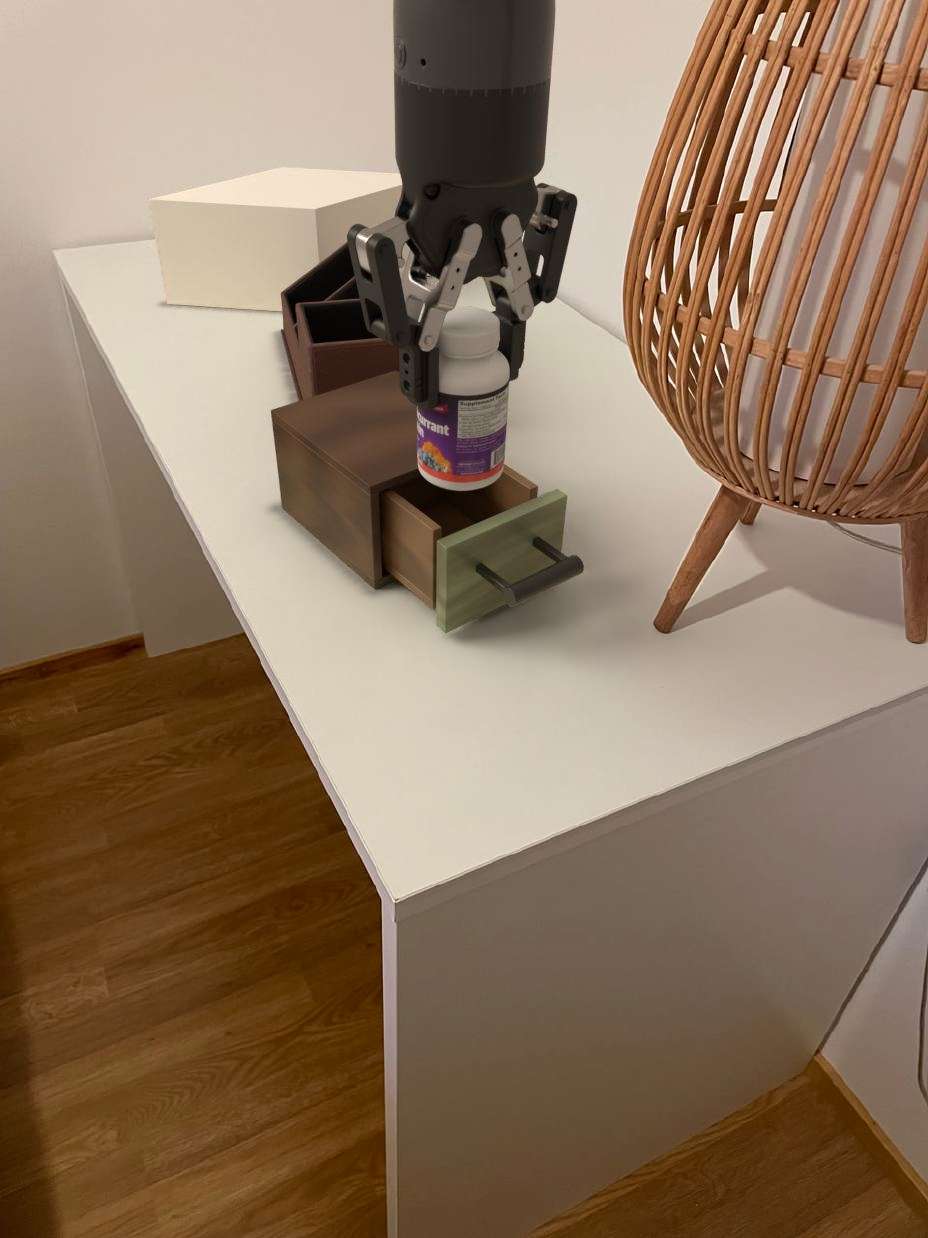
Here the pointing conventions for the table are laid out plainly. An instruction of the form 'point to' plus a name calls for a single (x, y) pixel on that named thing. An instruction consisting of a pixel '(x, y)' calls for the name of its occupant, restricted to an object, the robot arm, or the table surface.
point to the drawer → (474, 544)
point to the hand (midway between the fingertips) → (463, 388)
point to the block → (262, 232)
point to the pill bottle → (466, 405)
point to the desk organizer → (330, 330)
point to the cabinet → (346, 465)
